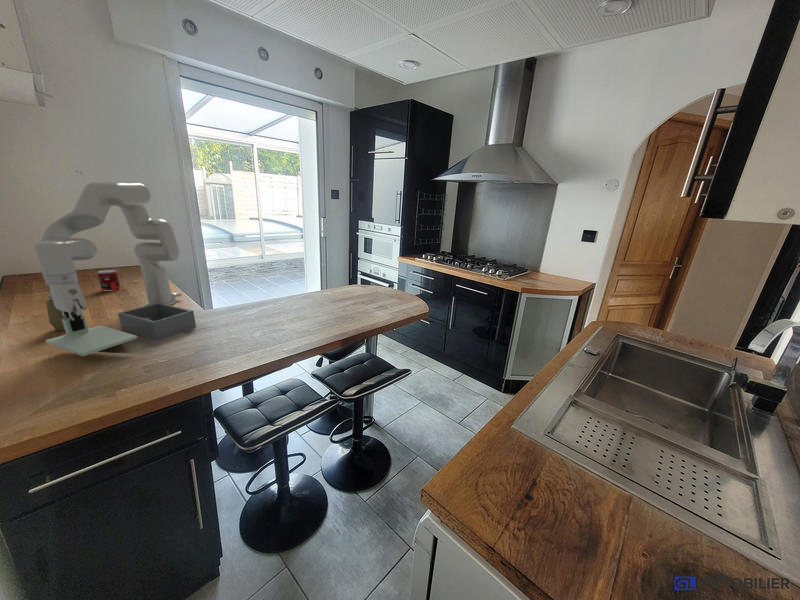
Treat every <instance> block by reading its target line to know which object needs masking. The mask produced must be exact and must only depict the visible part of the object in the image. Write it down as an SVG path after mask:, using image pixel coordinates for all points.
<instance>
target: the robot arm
mask: <svg viewBox="0 0 800 600" xmlns="http://www.w3.org/2000/svg"><path fill="white" fill-rule="evenodd" d="M151 197H152V195H151V191H150V188H148V187H147V186H146V185H145V184H143V183H140V182H121V181H105V182H103V181H99V182H97V181H96V182H90V183H86V185H85V186H84V187H83V190H82V191H81V194H80V195H79V197H78V200H77V202H76V203H75V205H74V207H73V209H72V211H70V212H69V213H67V214H65V215H63V216H61V217H60V218H58V219H56V220H55V221H54V222H52V223H51V224H50V225H49V226H48V227H46V229H45V231H44V233H43V234H42V237H41V239H40V241H39V242H36V243H34V250H35V254H36V256H37V257H36V258H37V260H38V263H39V267H40V270H41V273H42V276H43V279H44V282H45V285H46V286H49V291H50V294H51V296H52V299H53V302H54V305H55V307H56V308H57V309H58V310H61V311H62V314H63V317H64V318H69V317H70V319H71V321H70V324H71V328H72V331H78V330H82V329H85V326H84V322H83V319H82V318H83V317H82V315H83V316H84V310H85V311H86V310H88V304H87V302H86V299H85V296H84V293H83V291H82V289H81V286H80V285H79V283H78V282H79V279H78V275H77V271H76V267H75V265H74V261H87V260H91V259H93V258H94V257H95V256H96V255H97V253H98V248H97V245H96V244H95V243H94V242H93V241H92V240H89V239H86V238H80V237H79V238H78V237H77V238H74V237H73V236H74V235H76V234H77V233H81V232H83V231H87V230H91V229H93V228H96V227H98V226H101V225H102V224H103V223H104V222H105V220H106V218H107V216H108V215H107V214H108V212H109V211H110V208H111V207H112V206H117V207H118V208H119V209H120V210H121V211H122V213H123V215H124V218H125V220H126V224H127V225H128V228H129V230H130V233H131V234H132V236H133V237H134V238H135V239H137V240H141V241H140V242H138V243H136V244H135V245H134V248H133V249H134V250H133V251H134V254H135V257H136V259H137V260H138V263H139V265H140V270H141V273H142V279H143V284H144V287H145V292H146V296H147V301H146V302H145V303H144V305H145V306H148V305H152V304H156V303H162V304H166V305H171V306H173V304H174V305H175V303H177V300H176V298H179V297H181V296H182V292H171V287H170V283H169V278H168V273H167V272H168V271H167V268H166V266H165V265H164V264H163V262H174V261H177V260H178V259H179V257H180V248H179V245H178V242H177V239H176V236H175V232H174V230H173V228H172V226H171V225H172V224H170V223H169V222H168V221H167V220H166V219H161V218H160V219H159V218H158V219H157V218H151V217H150V216H149V213H148V212H149V211H148V210H147V208H146V206H145V205H146V204H148V203H149V202H150V200H151ZM72 237H73V238H72ZM74 310H75V311H74Z"/></svg>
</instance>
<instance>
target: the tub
mask: <svg viewBox="0 0 800 600" xmlns="http://www.w3.org/2000/svg"><path fill="white" fill-rule="evenodd" d="M117 315H118V319H119V323H120V326H121V331H125V332H127V333H128V332H129V333H132V334H134V335H137V336H138V335H139V336H142V337H146V338H149V339H152V340H156V341H159V340H162V339H165V338H168V337H170V336H173V335H176V334H179V333H181V332H184V331H187V330H190V329H194V328H196V327H197V325H196V319H195V317H196V316H195V313H194V310H192V309H187V308H183V307H180V306H174V305H166V304H162V303H156V304H152V305H148V306H141V307H136V308H133V309H129V310H125V311H121V312H118V313H117ZM144 318H152V319H153V321H152V320H148V319H144Z"/></svg>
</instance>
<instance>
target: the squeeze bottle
mask: <svg viewBox="0 0 800 600" xmlns="http://www.w3.org/2000/svg"><path fill="white" fill-rule="evenodd" d="M47 298H48V300H47V301H45V304H46V310H47V311H46V312H47V315H48V321H49V322H48V323H49V324H50V325H51V326H52V327H53V328H54V329H55V330H56V331H58V330H59V331H58V332H60V330H61V332H62V331H65V329H64V325H63V322H62V319H64V317H63V314H62V311H61V310H58V309H57V308H56V307H55V305H54V302H53V299H52V296H51V293H50V294H48V295H47ZM74 311H75V309H74Z"/></svg>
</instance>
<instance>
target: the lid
mask: <svg viewBox="0 0 800 600" xmlns="http://www.w3.org/2000/svg"><path fill="white" fill-rule="evenodd" d="M82 317H83V318H82V319H83V322H84V326H85V329H82V330H78V331H72V328H71V324H70V321H71V319H70V317H69V318H64V319H62V322H63V325H64V329H65V330H64V331H65V334H63V335H60V336H56V337H53V338H48V339H45V344H48V345H50V346H54V347H56V348H59V349H62V350H64V351H68V352H70V353H73V354H75V355H77V356H80V357H85V356H89V355H90V354H94V353H97V352H100V351H103V350H106V349H109V348H112V347H115V346H118V345H119V346H120V345H121V344H124V343H127V342H131V341H133V340H136V339H138V335H137V334H133V333H132V334H131V333H130V332H129V333H128V332H127V331H125V332H124V331H123V330H118V329H115V328H111V327H108V326H105V325H97V326H91V327H88V323H87V322H86V317H85V315H84V314H83V315H82Z"/></svg>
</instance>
